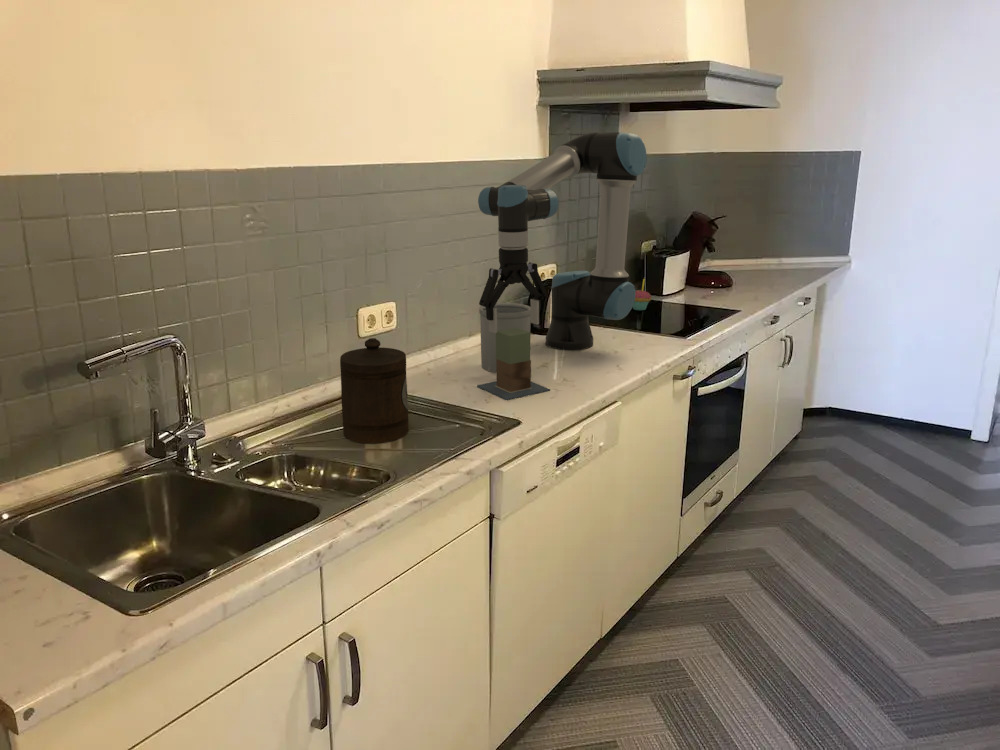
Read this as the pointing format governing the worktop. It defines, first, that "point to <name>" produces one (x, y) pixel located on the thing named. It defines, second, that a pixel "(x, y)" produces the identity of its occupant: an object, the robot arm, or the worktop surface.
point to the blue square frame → (508, 395)
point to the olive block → (513, 345)
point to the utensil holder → (506, 319)
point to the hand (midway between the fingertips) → (514, 327)
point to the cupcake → (641, 298)
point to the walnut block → (513, 375)
